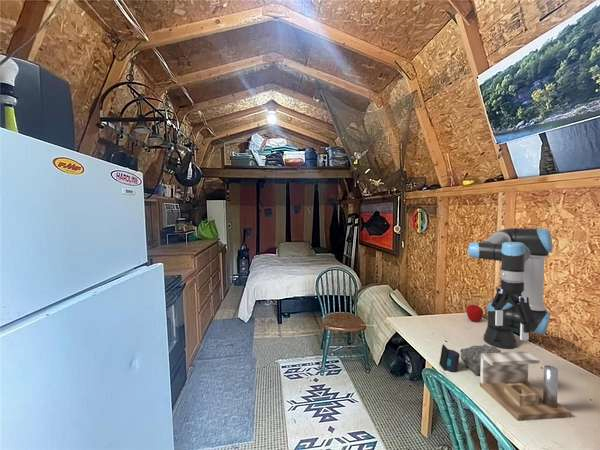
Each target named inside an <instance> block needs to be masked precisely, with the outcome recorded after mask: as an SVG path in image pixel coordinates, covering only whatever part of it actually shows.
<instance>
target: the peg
mask: <svg viewBox="0 0 600 450" xmlns="http://www.w3.org/2000/svg"><path fill="white" fill-rule="evenodd" d="M542 385H543V386H542V388H543V391H542V392H543V403H544V404H545V405H547V406H549V407H552V408H556V407H557V403H558V393H559V392H558V387H559V369H558V368H557V367H555V366H553V365H547V364H546V365H544V366H543V384H542Z"/></svg>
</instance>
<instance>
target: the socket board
mask: <svg viewBox="0 0 600 450" xmlns="http://www.w3.org/2000/svg"><path fill="white" fill-rule="evenodd" d="M533 364H535V365H536V364H540V359H539V358H537V357H535V356H534V355H532V354H531V353H529V352H528V351H507V352H501V353H483V354H481V371H480V375H479V376H480V378H479V379H480V381H479V387H480V388H481V389H483V390H484V391H485V392H486V393H487V394H488V395H489V396H490V397H491V398H492V399H494V400H495V402H497V403H498V404H499V405H500V406H501V407H502V408H503V409H504V410H506V412H508V413H509V414H510V415H511V416H512V417H513V418H514V419H516V420H517V421H519V422H520V421H530V420H531V421H533V420H548V419H550V420H551V419H564V418H571V411H570V410H568V409H567V408H566V407H564V406H563V405H562V404H560V403H559V402H557V407H556V408H552V407H549V406H547V405H545V404H544V403H543V391H542V390H540V389H539V388H537V387H536V386H535V385H533V384H532V383H531V382H529V365H533Z"/></svg>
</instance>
